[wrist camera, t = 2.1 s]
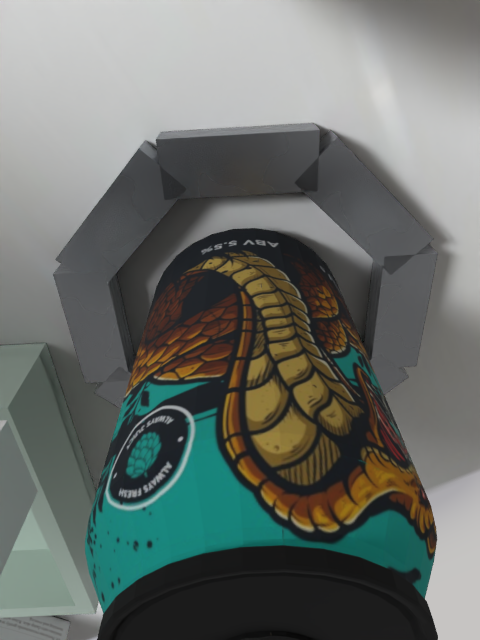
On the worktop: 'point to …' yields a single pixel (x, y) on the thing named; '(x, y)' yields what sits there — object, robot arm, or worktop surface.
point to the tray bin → (46, 492)
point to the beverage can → (257, 465)
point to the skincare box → (33, 628)
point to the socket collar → (236, 180)
